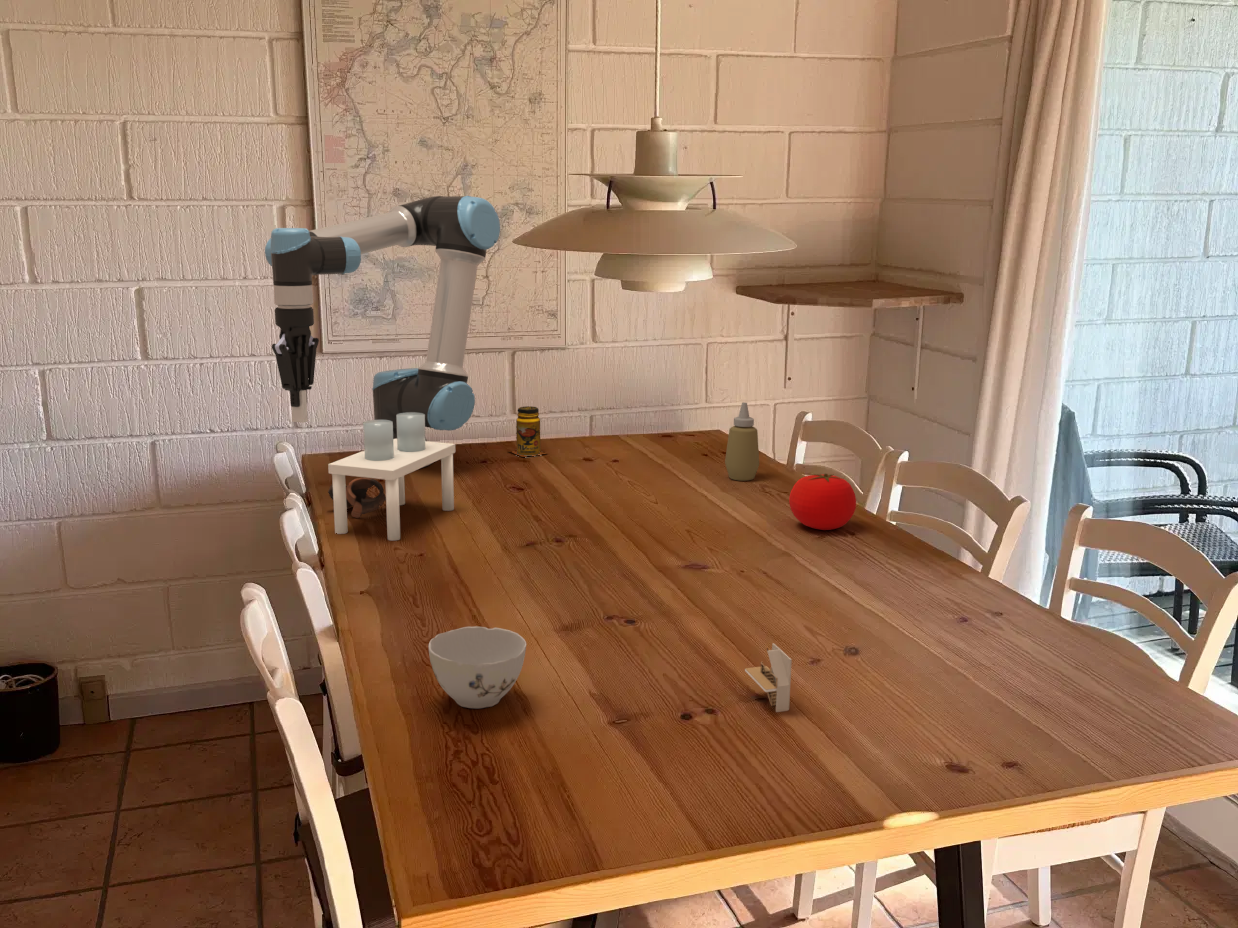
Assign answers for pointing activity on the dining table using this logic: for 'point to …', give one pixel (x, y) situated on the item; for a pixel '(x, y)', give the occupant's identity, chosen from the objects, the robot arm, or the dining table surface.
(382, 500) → the pottery mug
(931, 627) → the dining table surface
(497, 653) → the teacup
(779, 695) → the architectural model
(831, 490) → the tomato
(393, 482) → the side counter
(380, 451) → the tumbler
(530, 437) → the condiment
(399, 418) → the grey domed cylinder
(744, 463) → the squeeze bottle
